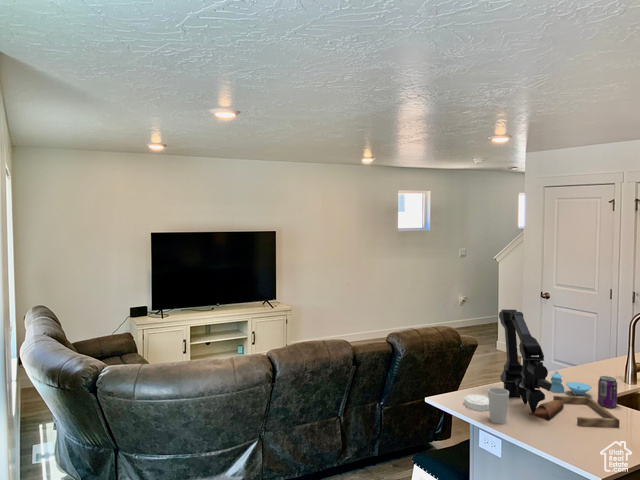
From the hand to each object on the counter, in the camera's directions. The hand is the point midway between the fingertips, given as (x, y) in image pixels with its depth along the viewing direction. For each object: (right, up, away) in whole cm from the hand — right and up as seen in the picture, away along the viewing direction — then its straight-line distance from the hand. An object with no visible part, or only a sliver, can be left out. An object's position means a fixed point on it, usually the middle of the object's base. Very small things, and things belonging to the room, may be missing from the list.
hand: (529, 408), depth 198 cm
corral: (+22, -2, -2) cm, 22 cm away
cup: (-16, -2, -8) cm, 18 cm away
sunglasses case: (+8, -2, 0) cm, 8 cm away
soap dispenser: (+29, -1, +22) cm, 37 cm away
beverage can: (+37, -2, +8) cm, 38 cm away
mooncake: (-19, -2, +7) cm, 20 cm away
